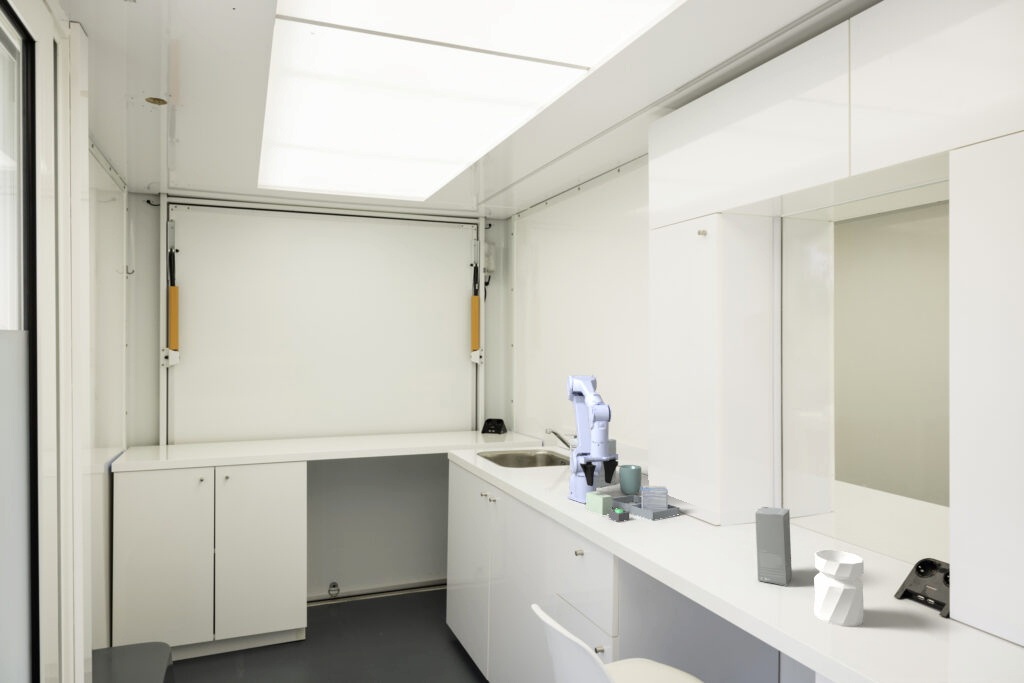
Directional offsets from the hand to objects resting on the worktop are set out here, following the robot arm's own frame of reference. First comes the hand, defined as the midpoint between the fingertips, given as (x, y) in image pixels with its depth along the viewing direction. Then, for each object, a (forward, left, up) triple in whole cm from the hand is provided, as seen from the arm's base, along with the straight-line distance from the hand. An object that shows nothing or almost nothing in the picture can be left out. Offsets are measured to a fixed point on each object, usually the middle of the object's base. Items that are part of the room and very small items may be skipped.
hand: (599, 484), depth 205 cm
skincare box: (+66, -4, -9) cm, 67 cm away
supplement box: (-35, +27, -9) cm, 45 cm away
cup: (-14, +27, -9) cm, 32 cm away
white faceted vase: (+86, -12, -9) cm, 87 cm away
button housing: (+9, 0, -9) cm, 13 cm away
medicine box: (+11, +14, -9) cm, 20 cm away
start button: (+9, 0, -9) cm, 13 cm away
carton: (0, 0, -9) cm, 9 cm away
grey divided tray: (+5, +14, -9) cm, 18 cm away
